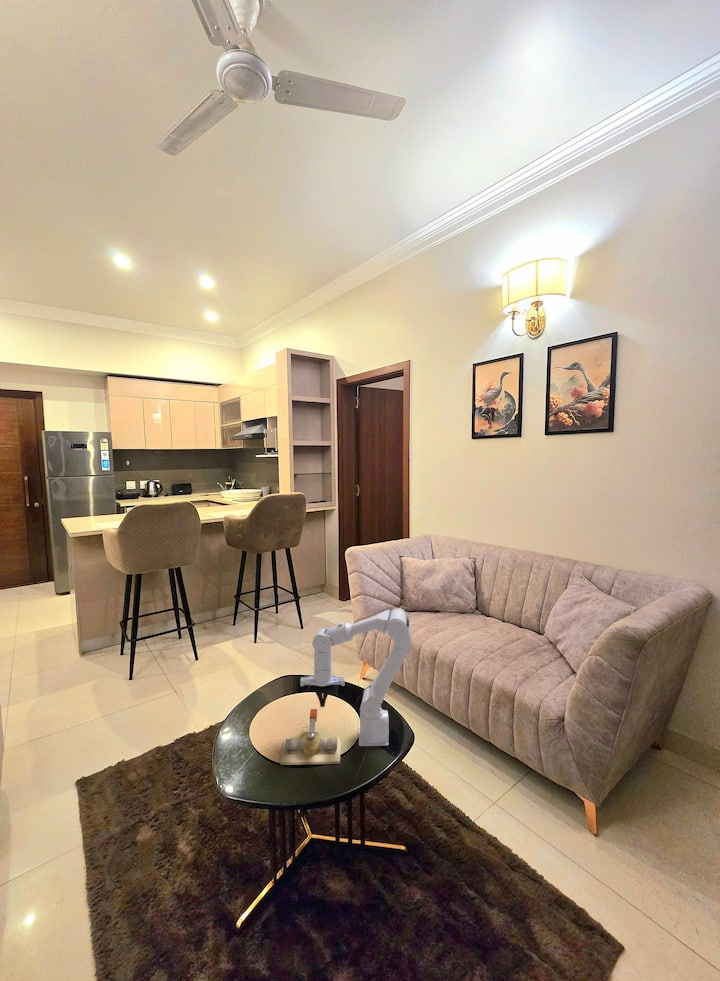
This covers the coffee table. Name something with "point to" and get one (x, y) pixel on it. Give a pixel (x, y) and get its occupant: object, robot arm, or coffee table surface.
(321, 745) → the valve fixture
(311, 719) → the valve lever
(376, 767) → the coffee table surface
